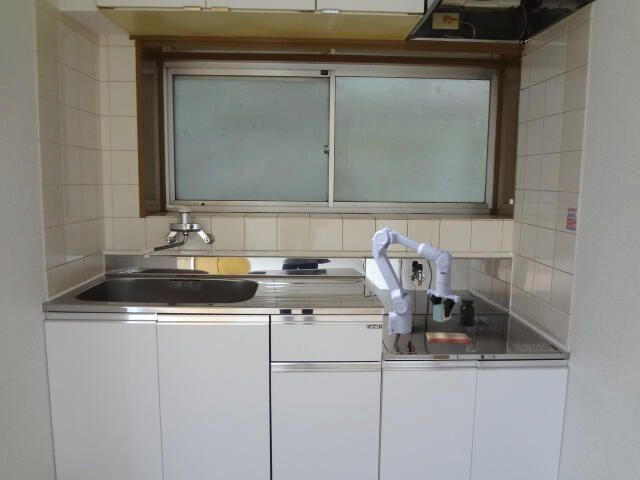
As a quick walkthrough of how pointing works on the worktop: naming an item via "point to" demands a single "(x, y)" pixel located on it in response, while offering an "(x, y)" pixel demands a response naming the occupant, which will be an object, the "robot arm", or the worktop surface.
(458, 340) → the shelf board
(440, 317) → the tea box
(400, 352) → the worktop surface
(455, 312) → the worktop surface
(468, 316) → the supplement bottle
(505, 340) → the worktop surface
